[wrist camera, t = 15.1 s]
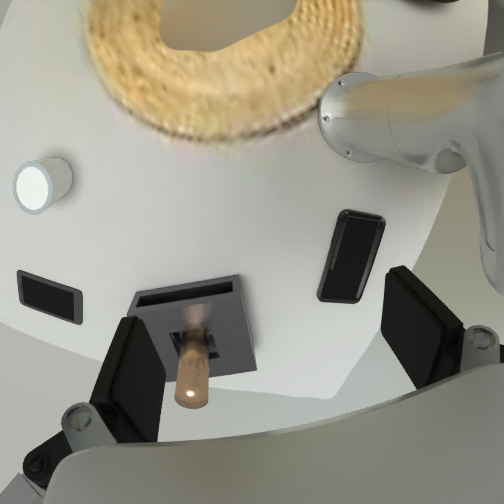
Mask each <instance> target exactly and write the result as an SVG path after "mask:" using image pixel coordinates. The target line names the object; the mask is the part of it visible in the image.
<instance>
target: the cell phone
mask: <svg viewBox="0 0 504 504" xmlns="http://www.w3.org/2000/svg"><path fill="white" fill-rule="evenodd" d="M17 282H18V292H19V300H20V303H21V304H22V305H24V306H27V307H29V308H32V309H35V310H37V311H40V312H43V313H45V314H48V315H51V316H54V317H57V318H60V319H62V320H65V321H68V322H71V323H74V324H78V325H81V324H82V322H83V295H82V292H81V291H80V290H78V289H75V288H72V287H69V286H66V285H63V284H60V283H57V282H54V281H51V280H48V279H45V278H42V277H39V276H36V275H33V274H30V273H28V272H25V271H22V270H18V271H17Z"/></svg>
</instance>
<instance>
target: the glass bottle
mask: <svg viewBox="0 0 504 504" xmlns="http://www.w3.org/2000/svg"><path fill="white" fill-rule="evenodd" d="M429 1H434V2H443V3H449V2H455V1H458V0H429Z"/></svg>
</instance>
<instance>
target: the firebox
mask: <svg viewBox="0 0 504 504" xmlns="http://www.w3.org/2000/svg"><path fill="white" fill-rule="evenodd" d="M130 316H137V317H138V318H139V319H142V320H143V321H144V323H145V326H146V328H147V330H148V333H149V335H150V337H151V339H152V342H153V344H154V346H155V348H156V350H157V353H158V355H159V357H160V359H161V361H162V363H163V365H164V368H165V370H166V381H165V382H173V381H177V373H178V365H179V358H180V350H181V343H182V336H183V333H182V331H187V330H194V329H201V328H207V327H210V328H211V331H212V334H210V335H209V376H208V378H209V377H217V376H224V375H231V374H237V373H244V372H250V371H256V370H257V366H256V359H255V352H254V345H253V341H252V336H251V331H250V327H249V322H248V317H247V312H246V307H245V302H244V298H243V293H242V288H241V283H240V278H239V274H238V275H233V276H227V277H222V278H216V279H210V280H205V281H199V282H193V283H187V284H181V285H176V286H170V287H164V288H158V289H152V290H146V291H139V292H136V294H135V296H134V298H133V301H132V303H131V305H130V308H129V310H128V312H127V317H130Z"/></svg>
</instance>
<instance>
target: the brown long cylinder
mask: <svg viewBox="0 0 504 504" xmlns="http://www.w3.org/2000/svg"><path fill="white" fill-rule="evenodd" d="M209 335H210V327H207V328H201V329H194V330H187V331H183V336H182V343H181V350H180V358H179V365H178V373H177V381H176V390H175V401H176V402H177V403H178V404H179V405H180V406H183V407H185V408H190V409H198V408H202V407H204V406H205V405H206V404H207V403H208V376H209Z"/></svg>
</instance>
